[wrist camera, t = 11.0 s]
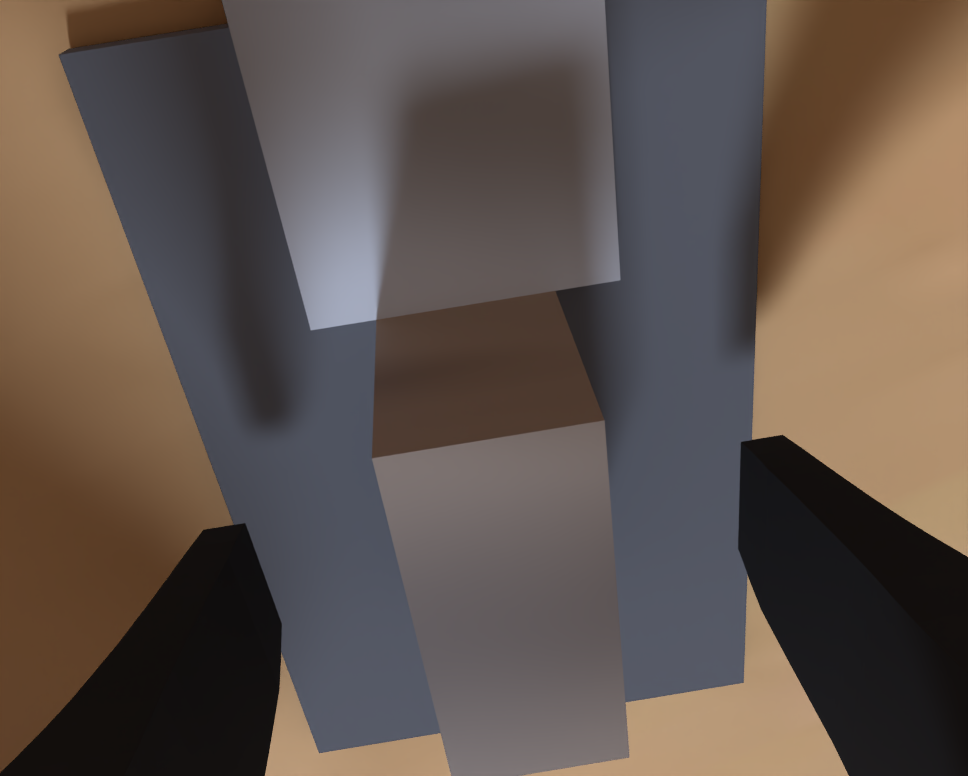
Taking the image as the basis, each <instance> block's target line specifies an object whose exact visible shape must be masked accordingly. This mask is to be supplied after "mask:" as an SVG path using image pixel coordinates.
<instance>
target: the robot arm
mask: <svg viewBox="0 0 968 776" xmlns="http://www.w3.org/2000/svg"><path fill="white" fill-rule="evenodd" d="M738 550H739V553H740V555H741V558H742V561H743V563H744V566H745V569H746V571H747V574H748V577H749V580H750V582H751V585H752V587H753V590H754V592H755V595H756V597H757V600H758V603H759V605H760V608H761V610H762V612H763V614H764V616H765V618H766V620H767V621H768V623H769V625H770V627H771V629H772V631H773V633H774V635H775V637H776V638H777V640H778V642H779V644H780V646H781V648H782V650H783V652H784V653H785V655H786V657H787V659H788V661H789V663H790V665H791V666H792V668H793V670H794V672H795V674H796V676H797V678H798V679H799V681H800V683H801V685H802V687H803V689H804V690H805V692H806V694H807V696H808V698H809V700H810V702H811V703H812V705H813V707H814V709H815V711H816V713H817V714H818V716H819V718H820V720H821V722H822V724H823V726H824V727H825V729H826V731H827V733H828V735H829V737H830V738H831V740H832V742H833V744H834V746H835V748H836V750H837V752H838V754H839V756H840V758H841V760H842V762H843V765H844V767H845V769H846V771H847V773H848V775H849V776H968V557H967V556H965V555H963V554H962V553H960V552H958V551H957V550H955V549H953V548H952V547H950V546H948V545H946V544H945V543H943V542H941V541H940V540H938V539H936V538H935V537H933V536H931V535H930V534H928V533H926V532H924V531H923V530H921V529H920V528H918V527H917V526H915V525H913V524H912V523H910V522H909V521H907V520H905V519H904V518H902V517H901V516H899V515H898V514H896V513H894V512H893V511H891V510H890V509H888V508H887V507H885V506H884V505H882V504H881V503H879V502H878V501H876V500H875V499H873V498H872V497H870V496H869V495H867V494H866V493H865V492H863V491H862V490H860V489H859V488H857V487H856V486H854V485H853V484H851V483H850V482H849V481H847V480H846V479H844V478H843V477H842V476H840V475H839V474H837V473H836V472H834V471H833V470H832V469H830V468H829V467H827V466H826V465H825V464H823V463H822V462H820V461H819V460H818V459H816V458H815V457H813V456H812V455H811V454H809V453H808V452H806V451H805V450H804V449H802V448H801V447H799V446H798V445H797V444H795V443H794V442H792V441H791V440H789V439H788V438H786V437H785V436H783V435H780V436H774V437H767V438H761V439H755V440H749V441H743V442H741V452H740V491H739V530H738ZM281 638H282V623H281V620H280V617H279V614H278V612H277V609H276V606H275V603H274V601H273V598H272V595H271V592H270V590H269V587H268V584H267V581H266V579H265V576H264V573H263V570H262V568H261V565H260V562H259V559H258V557H257V554H256V551H255V548H254V546H253V543H252V540H251V537H250V535H249V532H248V529H247V526H246V524H245V523H243V524H237V525H230V526H224V527H218V528H212V529H206V530H203V531H202V533H201V534H200V535H199V536H198V538H197V539H196V540H195V542H194V543H193V544H192V546H191V547H190V548H189V550H188V551H187V552H186V554H185V555H184V556H183V558H182V559H181V560H180V562H179V563H178V565H177V566H176V567H175V569H174V570H173V571H172V573H171V574H170V576H169V577H168V578H167V580H166V581H165V582H164V584H163V585H162V586H161V588H160V589H159V591H158V592H157V593H156V595H155V596H154V597H153V599H152V600H151V601H150V603H149V604H148V605H147V607H146V608H145V609H144V611H143V612H142V613H141V615H140V616H139V617H138V618H137V620H136V621H135V622H134V624H133V625H132V626H131V628H130V629H129V630H128V632H127V633H126V634H125V635H124V637H123V638H122V639H121V641H120V642H119V643H118V645H117V646H116V647H115V648H114V649H113V651H112V652H111V653H110V654H109V655H108V657H107V658H106V659H105V660H104V661H103V663H102V664H101V665H100V666H99V667H98V669H97V670H96V671H95V672H94V673H93V675H92V676H91V677H90V678H89V679H88V680H87V682H86V683H85V684H84V685H83V686H82V688H81V689H80V690H79V691H78V692H77V694H76V695H75V696H74V697H73V698H72V699H71V700H70V702H69V703H68V704H67V705H66V706H65V707H64V708H63V709H62V710H61V712H60V713H59V714H58V715H57V716H56V717H55V718H54V719H53V720H52V721H51V722H50V723H49V724H48V725H47V727H46V728H45V729H44V730H43V731H42V732H41V733H40V734H39V735H38V736H37V737H36V738H35V739H34V740H33V741H32V742H31V743H30V744H29V745H28V746H27V747H26V748H25V749H24V750H23V751H22V752H21V753H20V754H19V755H18V756H17V757H16V758H15V759H14V760H13V761H12V762H11V763H10V764H9V765H8V766H7V767H6V768H5V769H4V770H3V771H2V772H1V773H0V776H265V771H266V766H267V760H268V754H269V748H270V743H271V737H272V731H273V725H274V719H275V713H276V707H277V700H278V694H279V685H280V666H281Z"/></svg>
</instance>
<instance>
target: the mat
mask: <svg viewBox="0 0 968 776" xmlns="http://www.w3.org/2000/svg"><path fill="white" fill-rule="evenodd" d="M766 4H767V0H605V14H606V32H607V50H608V68H609V85H610V103H611V121H612V139H613V156H614V174H615V192H616V210H617V227H618V245H619V263H620V280H619V281H613V282H607V283H601V284H594V285H588V286H582V287H576V288H570V289H563V290H557V291H556V294H557V297H558V299H559V302H560V305H561V307H562V310H563V312H564V315H565V318H566V320H567V323H568V326H569V328H570V331H571V333H572V336H573V339H574V341H575V344H576V347H577V349H578V352H579V355H580V357H581V360H582V362H583V365H584V368H585V370H586V373H587V376H588V378H589V381H590V383H591V386H592V389H593V391H594V394H595V397H596V399H597V402H598V404H599V407H600V410H601V412H602V415H603V418H604V420H605V433H606V446H607V460H608V474H609V487H610V501H611V514H612V528H613V541H614V555H615V569H616V582H617V596H618V609H619V623H620V636H621V650H622V664H623V677H624V691H625V702H630V701H636V700H642V699H648V698H654V697H660V696H666V695H672V694H678V693H684V692H690V691H696V690H702V689H708V688H714V687H720V686H727V685H733V684H739V683H744V655H745V625H746V595H747V571H746V569H745V566H744V563H743V561H742V558H741V555H740V553H739V550H738V530H739V491H740V452H741V442H743V441H749V440H752V418H753V389H754V359H755V329H756V300H757V270H758V241H759V211H760V182H761V152H762V123H763V93H764V63H765V34H766ZM59 57H60V60H61V63H62V65H63V68H64V71H65V73H66V76H67V79H68V81H69V84H70V87H71V89H72V92H73V95H74V97H75V100H76V103H77V105H78V108H79V111H80V114H81V116H82V119H83V122H84V124H85V127H86V130H87V132H88V135H89V138H90V140H91V143H92V146H93V148H94V151H95V154H96V156H97V159H98V162H99V164H100V167H101V170H102V172H103V175H104V178H105V181H106V183H107V186H108V189H109V191H110V194H111V197H112V199H113V202H114V205H115V207H116V210H117V213H118V215H119V218H120V221H121V223H122V226H123V229H124V231H125V234H126V237H127V239H128V242H129V245H130V248H131V250H132V253H133V256H134V258H135V261H136V264H137V266H138V269H139V272H140V274H141V277H142V280H143V282H144V285H145V288H146V290H147V293H148V296H149V298H150V301H151V304H152V306H153V309H154V312H155V315H156V317H157V320H158V323H159V325H160V328H161V331H162V333H163V336H164V339H165V341H166V344H167V347H168V349H169V352H170V355H171V357H172V360H173V363H174V365H175V368H176V371H177V373H178V376H179V379H180V382H181V384H182V387H183V390H184V392H185V395H186V398H187V400H188V403H189V406H190V408H191V411H192V414H193V416H194V419H195V422H196V424H197V427H198V430H199V432H200V435H201V438H202V440H203V443H204V446H205V449H206V451H207V454H208V457H209V459H210V462H211V465H212V467H213V470H214V473H215V475H216V478H217V481H218V483H219V486H220V489H221V491H222V494H223V497H224V499H225V502H226V505H227V507H228V510H229V513H230V516H231V518H232V521H233V524H234V525H237V524H243V523H245V524H246V526H247V529H248V532H249V535H250V537H251V540H252V543H253V546H254V548H255V551H256V554H257V557H258V559H259V562H260V565H261V568H262V570H263V573H264V576H265V579H266V581H267V584H268V587H269V590H270V592H271V595H272V598H273V601H274V603H275V606H276V609H277V612H278V614H279V617H280V620H281V623H282V638H281V652H282V655H283V658H284V660H285V663H286V666H287V668H288V671H289V674H290V676H291V679H292V682H293V684H294V687H295V690H296V692H297V695H298V698H299V700H300V703H301V706H302V708H303V711H304V714H305V717H306V719H307V722H308V725H309V727H310V730H311V733H312V735H313V738H314V741H315V743H316V746H317V749H318V751H319V753H323V752H329V751H335V750H341V749H347V748H353V747H359V746H365V745H371V744H377V743H383V742H389V741H395V740H401V739H407V738H413V737H419V736H425V735H431V734H437V733H441V732H440V728H439V724H438V720H437V716H436V712H435V708H434V704H433V700H432V696H431V692H430V688H429V684H428V680H427V676H426V672H425V668H424V664H423V660H422V656H421V652H420V649H419V645H418V641H417V637H416V633H415V629H414V625H413V621H412V617H411V613H410V609H409V605H408V601H407V597H406V593H405V589H404V585H403V581H402V577H401V573H400V569H399V565H398V561H397V557H396V553H395V549H394V545H393V541H392V537H391V533H390V529H389V525H388V521H387V517H386V513H385V509H384V505H383V501H382V497H381V493H380V489H379V485H378V481H377V477H376V473H375V469H374V465H373V461H372V439H373V409H374V378H375V347H376V320H372V321H366V322H360V323H354V324H347V325H341V326H335V327H329V328H323V329H317V330H311V329H310V325H309V322H308V318H307V314H306V310H305V307H304V303H303V299H302V296H301V292H300V288H299V285H298V281H297V277H296V273H295V270H294V266H293V262H292V259H291V255H290V251H289V248H288V244H287V240H286V236H285V233H284V229H283V225H282V222H281V218H280V214H279V211H278V207H277V203H276V199H275V196H274V192H273V188H272V185H271V181H270V177H269V174H268V170H267V166H266V162H265V159H264V155H263V151H262V148H261V144H260V140H259V137H258V133H257V129H256V126H255V122H254V118H253V114H252V111H251V107H250V103H249V100H248V96H247V92H246V89H245V85H244V81H243V77H242V74H241V70H240V66H239V63H238V59H237V55H236V52H235V48H234V44H233V40H232V37H231V33H230V29H229V26H228V24H222V25H215V26H209V27H203V28H197V29H190V30H184V31H178V32H172V33H165V34H159V35H153V36H147V37H140V38H134V39H128V40H121V41H115V42H109V43H103V44H96V45H90V46H84V47H78V48H71V49H68V50H66V51H64V52H63V53H61V54H59Z"/></svg>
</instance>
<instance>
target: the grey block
mask: <svg viewBox="0 0 968 776" xmlns="http://www.w3.org/2000/svg"><path fill="white" fill-rule="evenodd" d="M222 3H223V7H224V11H225V15H226V18H227V22H228V26H229V29H230V33H231V37H232V40H233V44H234V48H235V52H236V55H237V59H238V63H239V66H240V70H241V74H242V77H243V81H244V85H245V89H246V92H247V96H248V100H249V103H250V107H251V111H252V114H253V118H254V122H255V126H256V129H257V133H258V137H259V140H260V144H261V148H262V151H263V155H264V159H265V162H266V166H267V170H268V174H269V177H270V181H271V185H272V188H273V192H274V196H275V199H276V203H277V207H278V211H279V214H280V218H281V222H282V225H283V229H284V233H285V236H286V240H287V244H288V248H289V251H290V255H291V259H292V262H293V266H294V270H295V273H296V277H297V281H298V285H299V288H300V292H301V296H302V299H303V303H304V307H305V310H306V314H307V318H308V322H309V325H310V329H311V330H317V329H323V328H329V327H335V326H341V325H347V324H354V323H360V322H366V321H372V320H376V347H375V378H374V409H373V439H372V461H373V465H374V469H375V473H376V477H377V481H378V485H379V489H380V493H381V497H382V501H383V505H384V509H385V513H386V517H387V521H388V525H389V529H390V533H391V537H392V541H393V545H394V549H395V553H396V557H397V561H398V565H399V569H400V573H401V577H402V581H403V585H404V589H405V593H406V597H407V601H408V605H409V609H410V613H411V617H412V621H413V625H414V629H415V633H416V637H417V641H418V645H419V649H420V652H421V656H422V660H423V664H424V668H425V672H426V676H427V680H428V684H429V688H430V692H431V696H432V700H433V704H434V708H435V712H436V716H437V720H438V724H439V728H440V732H441V736H442V740H443V744H444V748H445V752H446V756H447V760H448V764H449V768H450V772H451V776H520V775H526V774H532V773H538V772H544V771H550V770H557V769H563V768H569V767H575V766H581V765H587V764H593V763H599V762H605V761H611V760H617V759H623V758H629V745H628V731H627V718H626V704H625V691H624V677H623V664H622V650H621V636H620V623H619V609H618V596H617V582H616V569H615V555H614V541H613V528H612V514H611V501H610V487H609V474H608V460H607V446H606V433H605V420H604V418H603V415H602V412H601V410H600V407H599V404H598V402H597V399H596V397H595V394H594V391H593V389H592V386H591V383H590V381H589V378H588V376H587V373H586V370H585V368H584V365H583V362H582V360H581V357H580V355H579V352H578V349H577V347H576V344H575V341H574V339H573V336H572V333H571V331H570V328H569V326H568V323H567V320H566V318H565V315H564V312H563V310H562V307H561V305H560V302H559V299H558V297H557V294H556V291H557V290H563V289H570V288H576V287H582V286H588V285H594V284H601V283H607V282H613V281H619V280H620V263H619V245H618V227H617V210H616V192H615V174H614V156H613V139H612V121H611V103H610V85H609V68H608V50H607V32H606V14H605V0H222Z"/></svg>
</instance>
